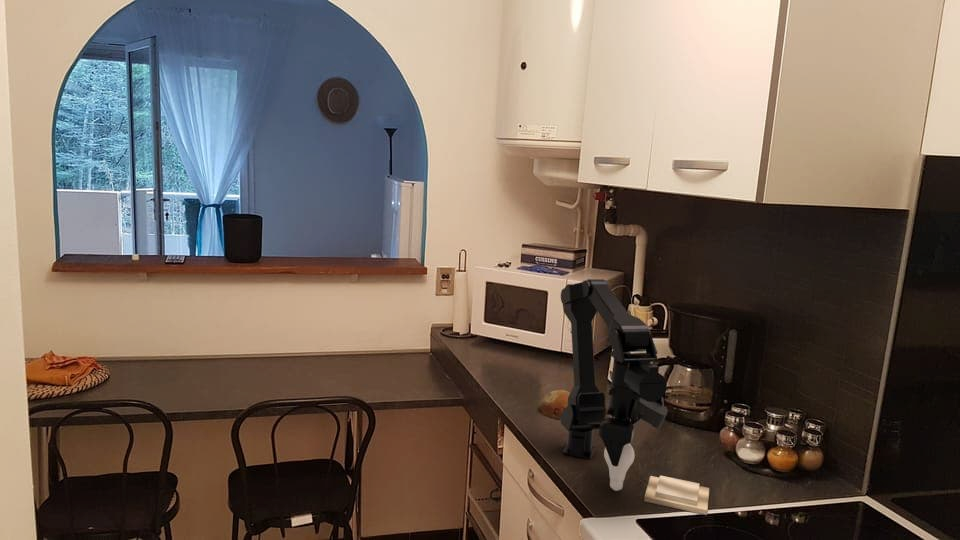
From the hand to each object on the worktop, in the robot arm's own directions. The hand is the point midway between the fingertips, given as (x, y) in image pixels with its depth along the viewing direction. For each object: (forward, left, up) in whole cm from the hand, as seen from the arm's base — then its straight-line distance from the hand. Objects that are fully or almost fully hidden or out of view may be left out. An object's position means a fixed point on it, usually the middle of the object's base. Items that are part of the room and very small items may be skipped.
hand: (618, 456), depth 138 cm
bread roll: (-37, -21, -8) cm, 43 cm away
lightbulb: (0, 0, -8) cm, 8 cm away
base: (-3, +12, -7) cm, 14 cm away
